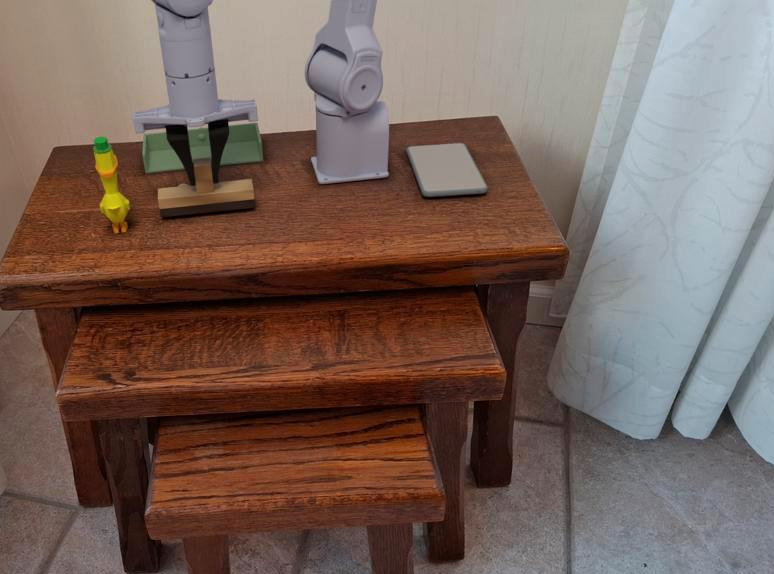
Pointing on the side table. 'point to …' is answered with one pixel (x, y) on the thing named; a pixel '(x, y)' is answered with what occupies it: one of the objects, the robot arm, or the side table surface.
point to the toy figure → (110, 185)
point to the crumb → (182, 185)
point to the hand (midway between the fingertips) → (204, 181)
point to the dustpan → (203, 148)
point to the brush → (205, 194)
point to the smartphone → (445, 170)
